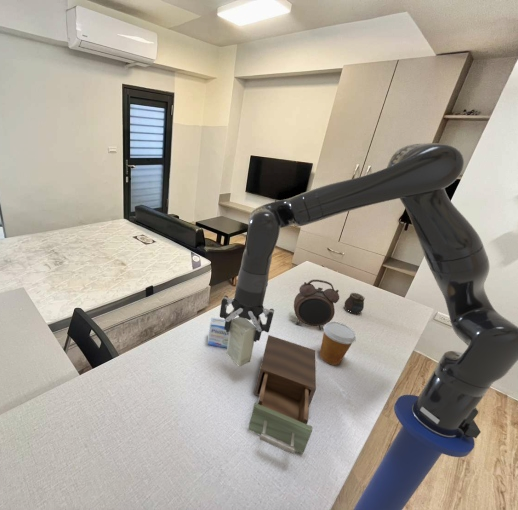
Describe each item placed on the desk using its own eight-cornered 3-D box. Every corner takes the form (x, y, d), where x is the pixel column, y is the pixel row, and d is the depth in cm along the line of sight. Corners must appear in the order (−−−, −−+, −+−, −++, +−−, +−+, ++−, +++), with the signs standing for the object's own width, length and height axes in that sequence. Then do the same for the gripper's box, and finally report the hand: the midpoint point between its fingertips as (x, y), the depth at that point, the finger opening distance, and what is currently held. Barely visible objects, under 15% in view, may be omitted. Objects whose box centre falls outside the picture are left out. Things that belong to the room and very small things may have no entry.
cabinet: (305, 415, 73) (315, 388, 69) (253, 394, 78) (260, 368, 74) (306, 374, 86) (315, 350, 82) (262, 358, 91) (268, 334, 87)
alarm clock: (289, 325, 110) (302, 281, 102) (289, 315, 116) (301, 273, 108) (329, 335, 106) (346, 290, 98) (326, 324, 112) (341, 281, 105)
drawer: (302, 475, 59) (312, 451, 56) (243, 447, 63) (250, 423, 60) (304, 404, 75) (312, 382, 72) (258, 385, 79) (263, 365, 76)
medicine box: (207, 345, 95) (210, 324, 92) (208, 336, 99) (211, 316, 96) (230, 349, 94) (234, 328, 91) (230, 340, 98) (233, 320, 95)
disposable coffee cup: (336, 372, 88) (347, 343, 83) (309, 354, 95) (318, 325, 90) (350, 362, 93) (362, 333, 88) (324, 345, 100) (334, 317, 96)
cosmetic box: (250, 362, 79) (258, 327, 75) (238, 367, 77) (245, 332, 72) (236, 348, 84) (242, 315, 80) (224, 352, 82) (230, 319, 77)
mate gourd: (356, 307, 127) (364, 288, 123) (364, 317, 120) (372, 297, 116) (340, 305, 127) (347, 286, 123) (347, 314, 120) (354, 295, 116)
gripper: (221, 283, 71) (213, 334, 77) (278, 298, 66) (265, 352, 72) (228, 272, 77) (220, 320, 83) (281, 285, 72) (269, 336, 78)
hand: (241, 335), depth 78 cm, fingers closed on cosmetic box, 7 cm apart
